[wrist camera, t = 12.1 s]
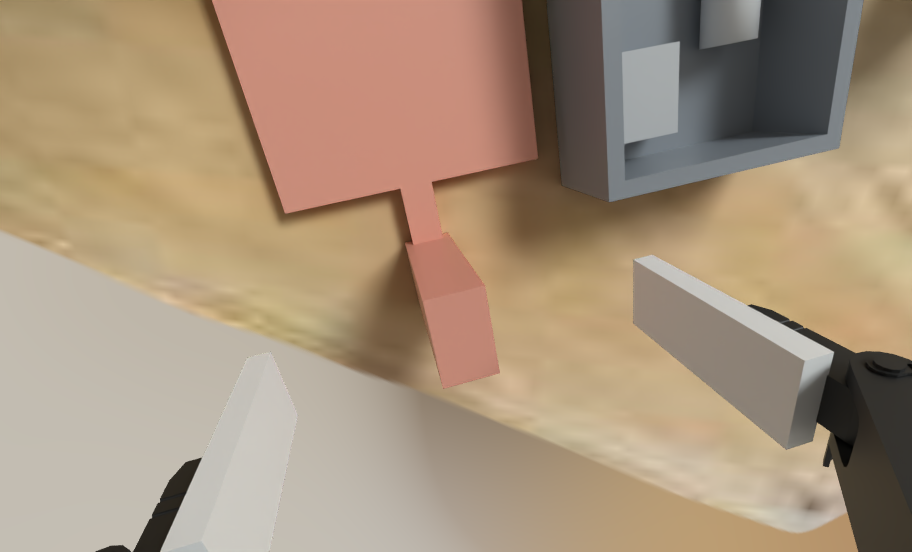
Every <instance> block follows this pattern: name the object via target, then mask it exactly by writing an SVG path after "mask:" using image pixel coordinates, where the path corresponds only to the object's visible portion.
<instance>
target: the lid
mask: <svg viewBox="0 0 912 552" xmlns="http://www.w3.org/2000/svg"><path fill="white" fill-rule="evenodd" d="M212 2H213V5H214V8H215V11H216V14H217V17H218V20H219V23H220V25H221V28H222V31H223V34H224V37H225V40H226V43H227V46H228V49H229V52H230V55H231V57H232V60H233V63H234V66H235V69H236V72H237V75H238V78H239V81H240V84H241V87H242V89H243V92H244V95H245V98H246V101H247V104H248V107H249V110H250V113H251V116H252V119H253V121H254V124H255V127H256V130H257V133H258V136H259V139H260V142H261V145H262V148H263V151H264V153H265V156H266V159H267V162H268V165H269V168H270V171H271V174H272V177H273V180H274V183H275V185H276V188H277V191H278V194H279V197H280V200H281V203H282V206H283V209H284V212H285V214H286V213H291V212H295V211H300V210H304V209H309V208H314V207H318V206H323V205H327V204H332V203H337V202H341V201H346V200H350V199H355V198H360V197H364V196H369V195H373V194H378V193H383V192H387V191H392V190H396V189H400V191H401V195H402V200H403V204H404V208H405V213H406V217H407V221H408V226H409V230H410V234H411V238H412V241H409V242H405V245H406V249H407V254H408V258H409V262H410V266H411V270H412V275H413V279H414V283H415V287H416V291H417V295H418V300H419V304H420V308H421V311H422V315H423V319H424V322H425V326H426V329H427V333H428V336H429V340H430V343H431V347H432V351H433V354H434V358H435V361H436V365H437V368H438V372H439V375H440V379H441V383H442V386H443V389H444V388H448V387H452V386H455V385H459V384H462V383H466V382H470V381H473V380H477V379H481V378H484V377H488V376H491V375H495V374H499V373H500V371H499V365H498V360H497V354H496V348H495V342H494V336H493V330H492V324H491V318H490V312H489V306H488V300H487V295H486V289H485V285H484V283H483V282H482V281H481V279H480V278H479V276H478V275H477V274H476V272H475V271H474V269H473V268H472V266H471V265H470V264H469V262H468V261H467V259H466V258H465V257H464V255H463V254H462V252H461V251H460V249H459V248H458V247H457V245H456V244H455V242H454V241H453V239H452V238H451V237H450V235H449V234H448V233H443V234H442V231H441V226H440V221H439V216H438V211H437V206H436V201H435V196H434V191H433V186H432V182H433V181H438V180H442V179H447V178H452V177H456V176H461V175H465V174H470V173H475V172H479V171H484V170H488V169H493V168H498V167H502V166H507V165H511V164H516V163H520V162H525V161H530V160H534V159H538V153H537V143H536V133H535V123H534V114H533V104H532V94H531V85H530V75H529V65H528V56H527V46H526V36H525V27H524V17H523V7H522V0H212Z"/></svg>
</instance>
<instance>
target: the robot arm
mask: <svg viewBox="0 0 912 552" xmlns="http://www.w3.org/2000/svg"><path fill="white" fill-rule="evenodd" d="M633 324H635V325H636V326H637V327H638V328H639V329H641V330H642V331H643V332H644V333H645V334H647V335H648V336H649V337H650V338H651V339H653V340H654V341H655V342H656V343H658V344H659V345H660V346H661V347H662V348H664V349H665V350H666V351H667V352H668V353H670V354H671V355H672V356H673V357H675V358H676V359H677V360H678V361H679V362H681V363H682V364H683V365H684V366H685V367H687V368H688V369H689V370H690V371H691V372H693V373H694V374H695V375H696V376H698V377H699V378H700V379H701V380H702V381H704V382H705V383H706V384H707V385H708V386H710V387H711V388H712V389H713V390H714V391H716V392H717V393H718V394H719V395H721V396H722V397H723V398H724V399H725V400H727V401H728V402H729V403H730V404H731V405H733V406H734V407H735V408H736V409H737V410H739V411H740V412H741V413H742V414H744V415H745V416H746V417H747V418H748V419H750V420H751V421H752V422H753V423H754V424H756V425H757V426H758V427H759V428H760V429H762V430H763V431H764V432H765V433H767V434H768V435H769V436H770V437H771V438H773V439H774V440H775V441H776V442H777V443H779V444H780V445H781V446H782V447H783V448H785V449H786V450H787V449H790V448H793V447H796V446H799V445H802V444H805V443H808V442H812V441H813V437H814V433H815V429H816V425H817V422H818V423H819V424H820V425H822V426H823V427H825V428H826V429H827V430H829V431H830V432H831V433H830V437H829V440H828V444H827V448H826V452H825V456H824V459H823V466H825V467H829V464H830V461H831V460H832V459H833V461H834V465H835V469H836V472H837V476H838V479H839V483H840V487H841V490H842V494H843V498H844V501H845V505H846V508H847V512H848V515H849V519H850V523H851V527H852V530H853V534H854V537H855V541H856V544H857V548H858V552H912V361H911V360H909V359H906V358H903V357H900V356H897V355H894V354H889V353H884V352H872V351H865V352H860V353H854V352H852V351H850V350H848V349H846V348H845V347H843V346H841V345H839V344H837V343H835V342H833V341H831V340H829V339H827V338H825V337H823V336H821V335H819V334H817V333H815V332H813V331H811V330H809V329H808V328H805V329H804V328H803V326H802V325H800V324H798V323H796V322H794V321H789V319H788V318H786V317H784V316H782V315H780V314H778V313H776V312H774V311H772V310H769V309H766V308H762V307H759V306H755V305H752V304H751V305H748V306H747V305H745V304H743V303H741V302H740V301H738V300H736V299H734V298H732V297H730V296H728V295H726V294H725V293H723V292H721V291H719V290H717V289H715V288H713V287H712V286H710V285H708V284H706V283H704V282H702V281H700V280H698V279H697V278H695V277H693V276H691V275H689V274H687V273H685V272H683V271H682V270H680V269H678V268H676V267H674V266H672V265H670V264H668V263H667V262H665V261H663V260H661V259H659V258H657V257H655V256H654V255H650V256H646V257H642V258H638V259H634V260H633ZM297 417H298V414H297V412H296V409H295V407H294V404H293V402H292V400H291V397H290V395H289V393H288V390H287V388H286V386H285V383H284V381H283V379H282V377H281V374H280V372H279V369H278V367H277V365H276V362H275V360H274V358H273V355H272V353H271V352H268V353H263V354H260V355H256V356H252V357H248V358H247V359H246V362H245V364H244V366H243V368H242V371H241V373H240V375H239V377H238V379H237V382H236V384H235V386H234V388H233V391H232V393H231V395H230V397H229V399H228V402H227V404H226V406H225V408H224V411H223V413H222V415H221V417H220V419H219V422H218V424H217V427H216V428H215V431H214V433H213V435H212V437H211V439H210V442H209V444H208V446H207V448H206V451H205V453H204V455H203V457H202V458H199V459H196V460H192V461H188V462H186V463H185V464H184V465H183V466H182V467H181V468H180V469H179V470H178V472H177V473H176V474H175V475H174V476H173V477H172V478H171V479H170V480H169V482H168V484H167V486H166V488H165V490H164V492H163V494H162V496H161V498H160V503H158V504H157V506H156V508H155V510H154V512H153V514H152V519H150V520H149V522H148V524H147V526H146V527H145V529H144V531H143V533H142V535H141V537H140V539H139V541H138V543H137V545H136V547H135V549H134V551H133V552H270V547H271V542H272V538H273V532H274V527H275V523H276V518H277V513H278V508H279V503H280V499H281V494H282V489H283V484H284V480H285V475H286V470H287V465H288V460H289V455H290V450H291V446H292V441H293V436H294V431H295V427H296V422H297ZM96 552H131V551H130V550H129V549H127V548H126V547H124V546H123V545H118V546H109V547H106V548H104V549H101V550H98V551H96Z"/></svg>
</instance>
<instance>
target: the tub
mask: <svg viewBox="0 0 912 552" xmlns="http://www.w3.org/2000/svg"><path fill="white" fill-rule="evenodd" d="M546 1H547V13H548V25H549V37H550V49H551V61H552V73H553V85H554V98H555V110H556V122H557V134H558V146H559V158H560V170H561V182H562V186H565V187H567V188H570V189H573V190H576V191H579V192H582V193H584V194H587V195H590V196H593V197H596V198H599V199H601V200H604V201H607V202H612V201H617V200H621V199H625V198H629V197H634V196H638V195H642V194H646V193H651V192H655V191H659V190H663V189H668V188H672V187H676V186H680V185H685V184H689V183H693V182H697V181H702V180H706V179H710V178H714V177H719V176H723V175H727V174H731V173H736V172H740V171H744V170H748V169H753V168H757V167H761V166H765V165H770V164H774V163H778V162H782V161H787V160H791V159H795V158H799V157H804V156H808V155H812V154H816V153H821V152H825V151H829V150H833V149H838V148H839V146H840V140H841V134H842V127H843V121H844V115H845V109H846V103H847V97H848V91H849V85H850V79H851V73H852V67H853V61H854V55H855V49H856V43H857V37H858V31H859V25H860V19H861V13H862V7H863V1H864V0H546Z"/></svg>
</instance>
